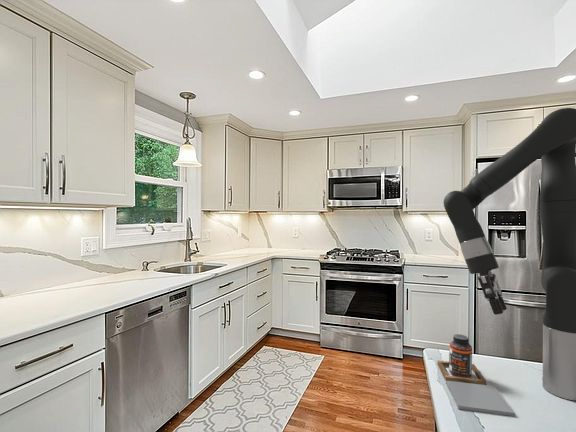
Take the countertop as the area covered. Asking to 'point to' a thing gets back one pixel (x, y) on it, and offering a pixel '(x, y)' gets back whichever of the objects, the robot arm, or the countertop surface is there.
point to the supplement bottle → (460, 356)
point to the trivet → (478, 398)
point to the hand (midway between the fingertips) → (501, 312)
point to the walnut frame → (480, 379)
